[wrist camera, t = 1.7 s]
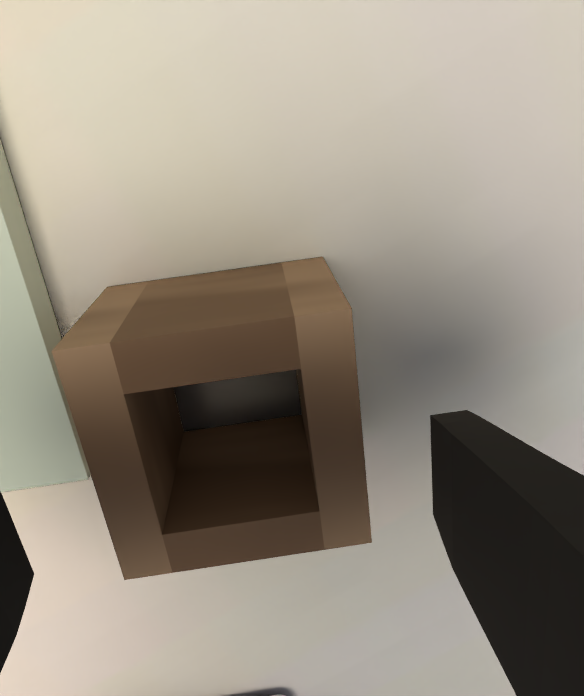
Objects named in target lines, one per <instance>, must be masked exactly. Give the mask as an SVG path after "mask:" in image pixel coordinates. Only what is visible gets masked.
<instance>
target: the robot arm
mask: <svg viewBox="0 0 584 696" xmlns="http://www.w3.org/2000/svg"><path fill="white" fill-rule="evenodd" d="M430 420H431V456H432V491H433V515H434V518H435V521H436V524H437V527H438V529H439V532H440V535H441V538H442V541H443V544H444V546H445V549H446V552H447V554H448V557H449V560H450V563H451V565H452V568H453V570H454V572H455V574H456V576H457V578H458V580H459V582H460V585H461V587H462V589H463V591H464V593H465V595H466V597H467V599H468V601H469V603H470V605H471V607H472V609H473V611H474V612H475V614H476V616H477V618H478V620H479V622H480V624H481V626H482V628H483V630H484V632H485V634H486V636H487V638H488V640H489V642H490V644H491V646H492V648H493V650H494V652H495V654H496V656H497V658H498V660H499V662H500V664H501V666H502V668H503V670H504V672H505V674H506V676H507V678H508V679H509V681H510V683H511V685H512V687H513V689H514V691H515V693H516V695H517V696H584V476H583V475H581V474H580V473H578V472H576V471H574V470H572V469H570V468H569V467H567V466H565V465H563V464H561V463H559V462H558V461H556V460H554V459H552V458H550V457H549V456H547V455H545V454H543V453H542V452H540V451H538V450H536V449H535V448H533V447H531V446H529V445H528V444H526V443H524V442H523V441H521V440H519V439H517V438H516V437H514V436H512V435H510V434H509V433H507V432H505V431H504V430H502V429H500V428H498V427H497V426H495V425H493V424H492V423H490V422H488V421H486V420H485V419H483V418H481V417H479V416H477V415H475V414H474V413H472V412H470V411H468V410H464V411H457V412H450V413H443V414H436V415H430ZM33 576H34V572H33V570H32V567H31V565H30V562H29V560H28V558H27V555H26V553H25V550H24V548H23V545H22V543H21V540H20V538H19V535H18V533H17V531H16V528H15V526H14V523H13V521H12V518H11V516H10V513H9V511H8V508H7V506H6V503H5V501H4V499H3V496H2V494H1V491H0V673H1V670H2V668H3V666H4V663H5V661H6V659H7V656H8V654H9V652H10V649H11V647H12V644H13V642H14V640H15V637H16V635H17V632H18V628H19V625H20V622H21V619H22V615H23V612H24V609H25V606H26V602H27V598H28V594H29V591H30V587H31V583H32V580H33ZM271 696H286V695H271Z"/></svg>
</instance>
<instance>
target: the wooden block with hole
mask: <svg viewBox="0 0 584 696" xmlns="http://www.w3.org/2000/svg"><path fill="white" fill-rule="evenodd" d="M52 355H53V358H54V361H55V364H56V367H57V370H58V373H59V376H60V380H61V383H62V386H63V389H64V392H65V395H66V398H67V402H68V405H69V408H70V411H71V414H72V417H73V420H74V423H75V427H76V430H77V433H78V436H79V439H80V442H81V445H82V448H83V452H84V455H85V458H86V461H87V464H88V467H89V470H90V473H91V477H92V480H93V483H94V486H95V489H96V492H97V495H98V498H99V502H100V505H101V508H102V511H103V514H104V517H105V520H106V524H107V527H108V530H109V533H110V536H111V539H112V542H113V545H114V549H115V552H116V555H117V558H118V561H119V564H120V567H121V570H122V574H123V577H124V580H127V579H134V578H140V577H147V576H154V575H160V574H167V573H173V572H180V571H187V570H193V569H200V568H207V567H213V566H220V565H226V564H233V563H240V562H246V561H253V560H259V559H266V558H273V557H279V556H286V555H292V554H299V553H306V552H312V551H319V550H326V549H332V548H339V547H345V546H352V545H359V544H365V543H372V539H371V528H370V516H369V505H368V493H367V481H366V470H365V458H364V447H363V435H362V424H361V412H360V400H359V389H358V377H357V366H356V354H355V343H354V331H353V319H352V308H351V307H350V305H349V303H348V301H347V299H346V298H345V296H344V294H343V292H342V290H341V289H340V287H339V285H338V283H337V282H336V280H335V278H334V276H333V274H332V273H331V271H330V269H329V267H328V265H327V264H326V262H325V260H324V258H323V257H318V258H311V259H303V260H296V261H289V262H282V263H275V264H268V265H261V266H253V267H246V268H239V269H232V270H225V271H218V272H211V273H203V274H196V275H189V276H182V277H175V278H168V279H161V280H153V281H146V282H139V283H132V284H125V285H118V286H111V287H107V288H106V289H105V290H104V291H103V292H102V293H101V295H100V296H99V297H98V298H97V299H96V300H95V302H94V303H93V304H92V305H91V306H90V307H89V308H88V310H87V311H86V312H85V313H84V314H83V315H82V316H81V318H80V319H79V320H78V321H77V322H76V323H75V325H74V326H73V327H72V328H71V329H70V330H69V331H68V333H67V334H66V335H65V336H64V337H63V338H62V339H61V341H60V342H59V343H58V344H57V345H56V346H55V348H54V349H53V350H52ZM289 370H296V375H297V382H298V390H299V397H300V405H301V412H302V415H295V416H288V417H281V418H274V419H268V420H261V421H254V422H247V423H240V424H233V425H226V426H220V427H213V428H206V429H199V430H192V431H185V432H184V430H183V426H182V422H181V417H180V413H179V409H178V404H177V400H176V396H175V391H174V387H178V386H185V385H192V384H199V383H206V382H213V381H220V380H226V379H233V378H240V377H247V376H254V375H261V374H268V373H275V372H282V371H289Z"/></svg>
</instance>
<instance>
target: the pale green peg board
mask: <svg viewBox="0 0 584 696" xmlns="http://www.w3.org/2000/svg"><path fill="white" fill-rule="evenodd" d="M61 339H62V338H61V334H60V331H59V328H58V325H57V321H56V318H55V315H54V312H53V308H52V305H51V302H50V299H49V295H48V292H47V289H46V286H45V282H44V279H43V276H42V273H41V270H40V266H39V263H38V260H37V257H36V253H35V250H34V247H33V244H32V240H31V237H30V234H29V231H28V227H27V224H26V221H25V218H24V214H23V211H22V208H21V205H20V201H19V198H18V195H17V192H16V189H15V185H14V182H13V179H12V176H11V172H10V169H9V166H8V163H7V159H6V156H5V153H4V150H3V146H2V143H1V140H0V491H1V492H7V491H14V490H21V489H28V488H35V487H41V486H48V485H55V484H62V483H69V482H75V481H82V480H89V477H90V475H91V473H90V470H89V467H88V464H87V461H86V458H85V455H84V452H83V448H82V445H81V442H80V439H79V436H78V433H77V430H76V427H75V423H74V420H73V417H72V414H71V411H70V408H69V405H68V402H67V398H66V395H65V392H64V389H63V386H62V383H61V380H60V376H59V373H58V370H57V367H56V364H55V361H54V358H53V355H52V350H53V349H54V348H55V346H56V345H57V344H58V343H59V342H60V341H61Z"/></svg>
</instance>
